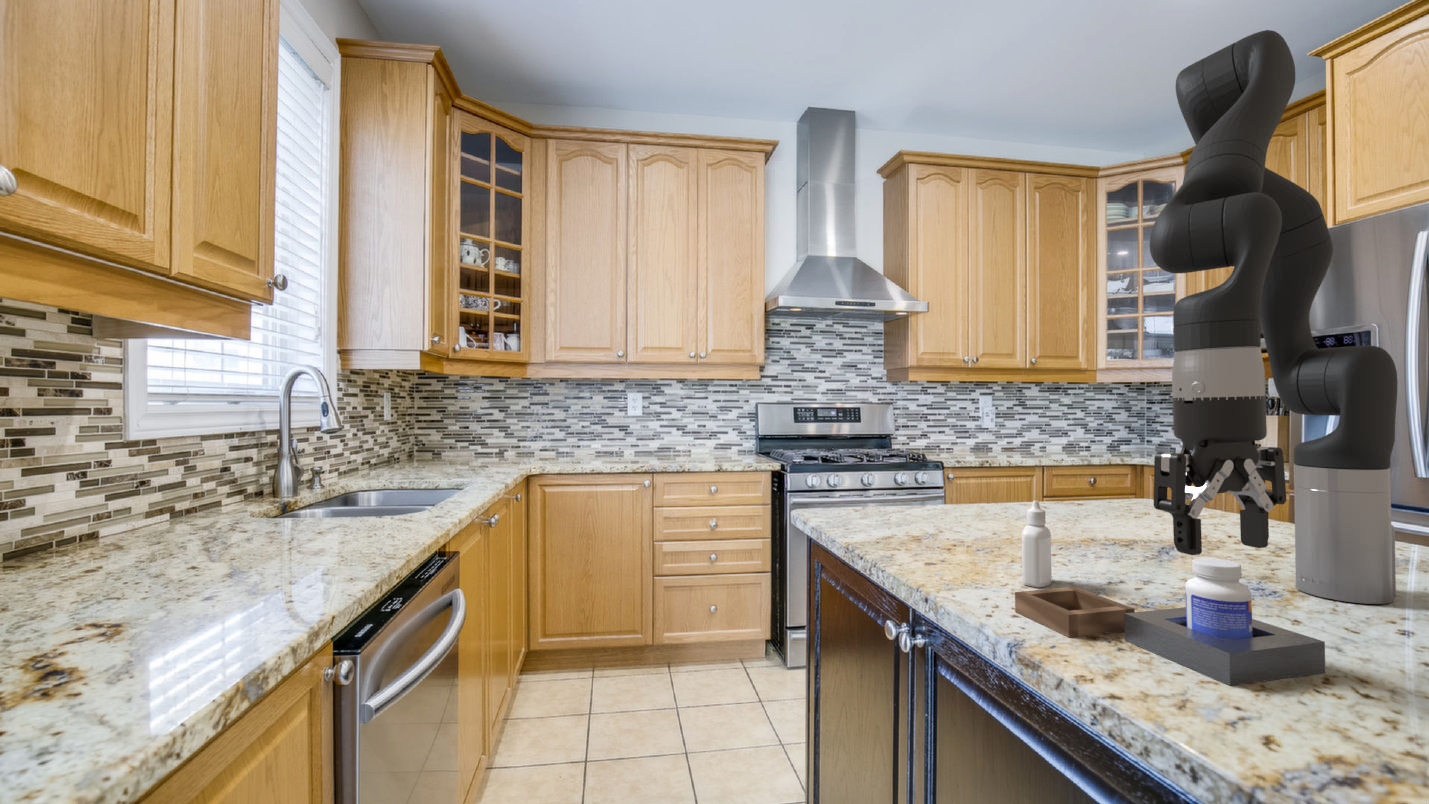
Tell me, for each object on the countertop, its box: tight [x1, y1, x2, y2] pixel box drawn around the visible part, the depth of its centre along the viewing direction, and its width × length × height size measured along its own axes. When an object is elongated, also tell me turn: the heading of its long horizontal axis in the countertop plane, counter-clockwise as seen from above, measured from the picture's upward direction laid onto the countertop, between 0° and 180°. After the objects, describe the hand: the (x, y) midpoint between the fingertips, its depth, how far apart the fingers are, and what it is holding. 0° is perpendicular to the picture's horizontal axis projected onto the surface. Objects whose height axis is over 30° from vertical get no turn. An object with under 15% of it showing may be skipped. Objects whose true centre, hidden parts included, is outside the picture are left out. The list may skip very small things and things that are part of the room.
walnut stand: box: [1014, 586, 1136, 638], centre depth 76 cm, size 9×9×2 cm
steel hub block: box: [1124, 606, 1326, 686], centre depth 65 cm, size 12×12×3 cm
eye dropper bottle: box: [1021, 500, 1053, 589], centre depth 92 cm, size 4×6×12 cm
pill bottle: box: [1184, 557, 1253, 641], centre depth 65 cm, size 5×5×10 cm
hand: (1221, 549), depth 65 cm, fingers open, 8 cm apart
